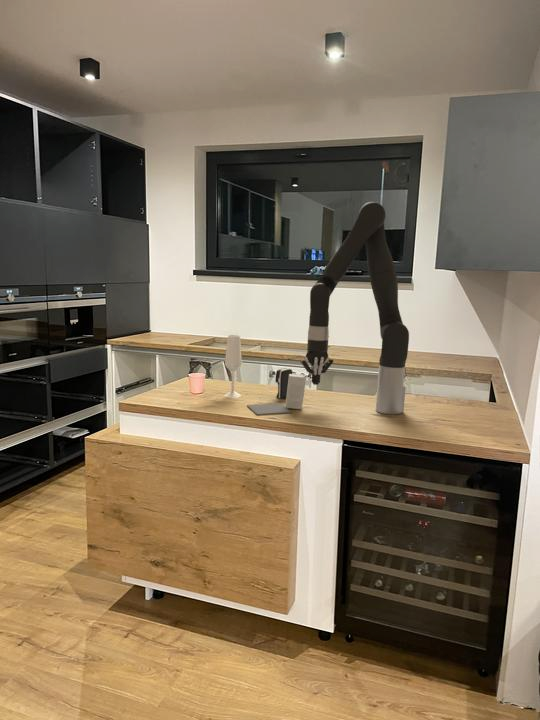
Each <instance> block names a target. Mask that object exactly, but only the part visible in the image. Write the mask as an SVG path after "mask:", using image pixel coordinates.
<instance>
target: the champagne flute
mask: <svg viewBox="0 0 540 720" xmlns="http://www.w3.org/2000/svg"><path fill="white" fill-rule="evenodd" d="M225 350H226V351H225V359H224V365H225V367H226V368H227V370H229V371H230V372H231V385H230V386H231V388H230V389H231V390H230V391H229V392H227V393H225V394H224V397H226V398H230V399H236V398H237V399H238V398H241V397H242V395H241V394H239V393H238V392H237V391H235V380H236V379H235V376H236V375H235V373H236V372H237V371H238V370H239V369H241V367H242V366H243V361H242V359H243V358H242V344H241V335H239V334H228V335H227V341H226V349H225Z"/></svg>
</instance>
